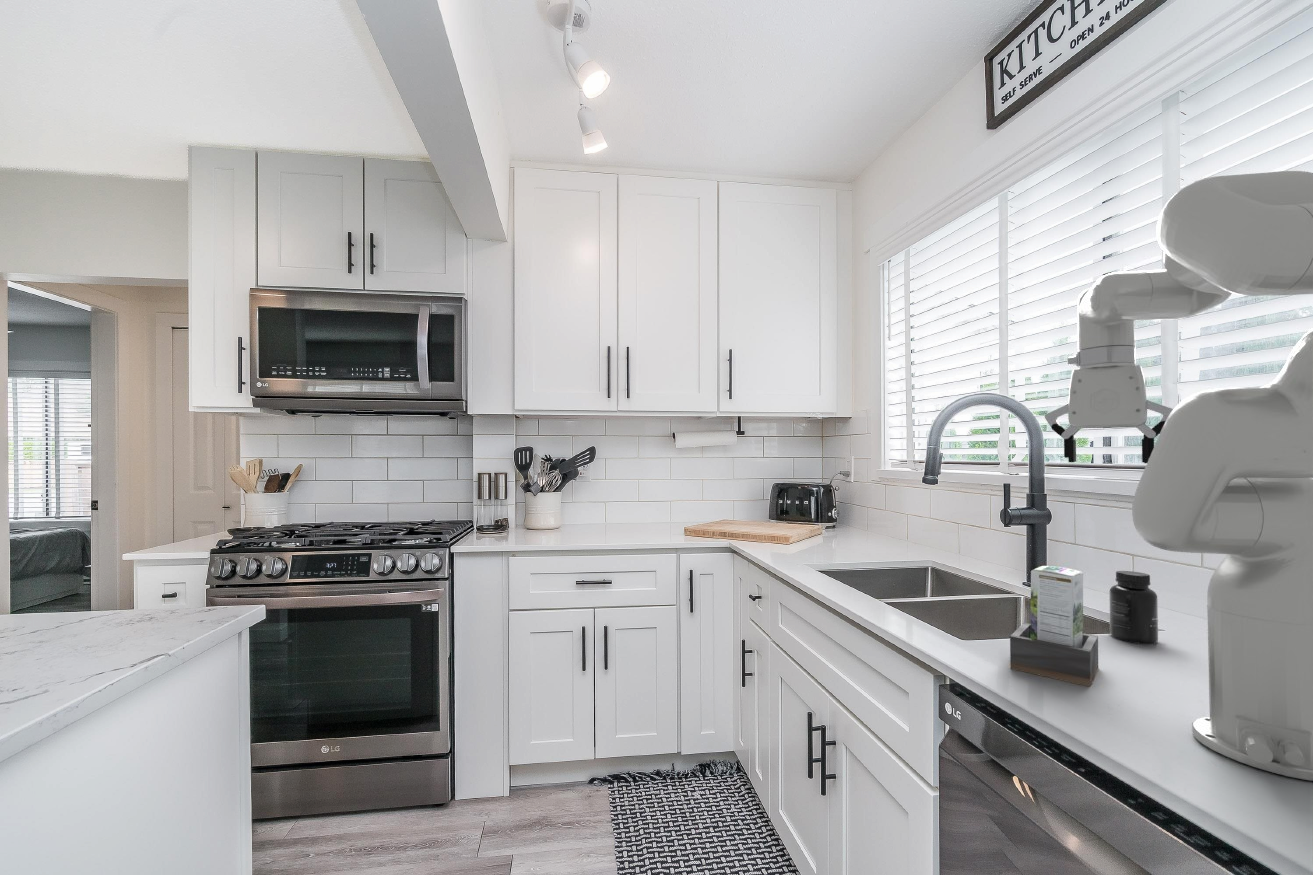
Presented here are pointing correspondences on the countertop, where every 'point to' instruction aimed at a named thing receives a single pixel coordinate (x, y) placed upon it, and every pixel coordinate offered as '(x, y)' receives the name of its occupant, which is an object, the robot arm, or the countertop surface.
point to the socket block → (1054, 657)
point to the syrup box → (1057, 605)
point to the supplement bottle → (1133, 608)
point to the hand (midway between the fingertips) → (1107, 462)
